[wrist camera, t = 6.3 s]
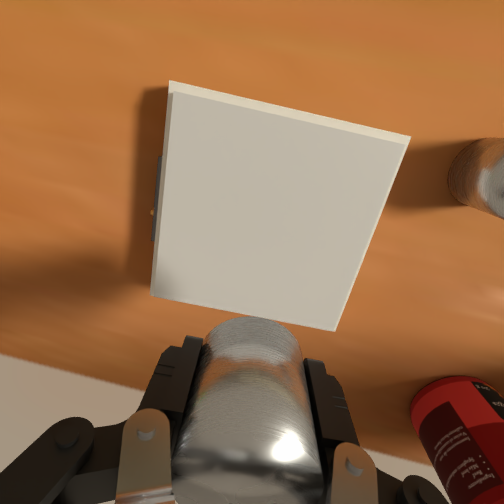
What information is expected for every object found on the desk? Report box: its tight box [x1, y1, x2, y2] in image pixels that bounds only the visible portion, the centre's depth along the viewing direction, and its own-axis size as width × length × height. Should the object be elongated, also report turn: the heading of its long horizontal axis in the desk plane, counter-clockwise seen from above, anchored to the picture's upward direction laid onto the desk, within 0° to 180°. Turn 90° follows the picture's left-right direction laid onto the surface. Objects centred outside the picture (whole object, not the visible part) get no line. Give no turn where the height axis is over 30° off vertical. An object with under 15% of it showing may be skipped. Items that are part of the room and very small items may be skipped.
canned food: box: [410, 376, 504, 504], centre depth 23 cm, size 8×8×11 cm
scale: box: [150, 80, 411, 331], centre depth 20 cm, size 15×14×3 cm
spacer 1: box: [171, 317, 324, 504], centre depth 11 cm, size 4×4×5 cm
